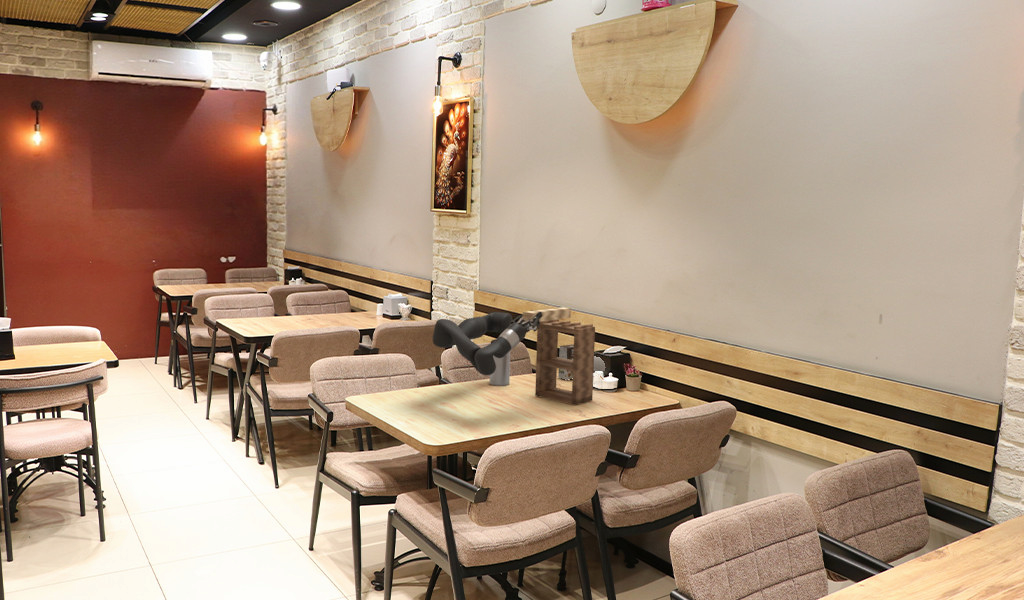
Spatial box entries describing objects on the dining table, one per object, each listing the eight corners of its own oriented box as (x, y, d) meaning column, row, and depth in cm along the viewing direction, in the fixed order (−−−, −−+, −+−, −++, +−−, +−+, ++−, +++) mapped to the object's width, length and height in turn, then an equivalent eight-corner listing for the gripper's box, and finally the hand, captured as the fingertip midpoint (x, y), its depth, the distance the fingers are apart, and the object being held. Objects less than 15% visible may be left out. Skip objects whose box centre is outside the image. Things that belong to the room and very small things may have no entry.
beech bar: (529, 323, 318) (530, 313, 317) (522, 321, 320) (522, 311, 320) (570, 317, 336) (571, 308, 336) (563, 316, 339) (563, 307, 339)
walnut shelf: (575, 405, 332) (578, 327, 328) (535, 395, 346) (537, 321, 342) (592, 400, 341) (595, 324, 337) (552, 391, 355) (554, 318, 351)
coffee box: (567, 381, 376) (568, 347, 374) (557, 378, 381) (559, 345, 379) (580, 378, 382) (582, 345, 380) (571, 376, 387) (572, 343, 385)
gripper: (521, 331, 307) (547, 307, 317) (495, 327, 317) (521, 303, 326) (527, 347, 310) (552, 322, 320) (501, 342, 320) (526, 318, 330)
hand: (536, 312), depth 323 cm, fingers closed on beech bar, 4 cm apart
